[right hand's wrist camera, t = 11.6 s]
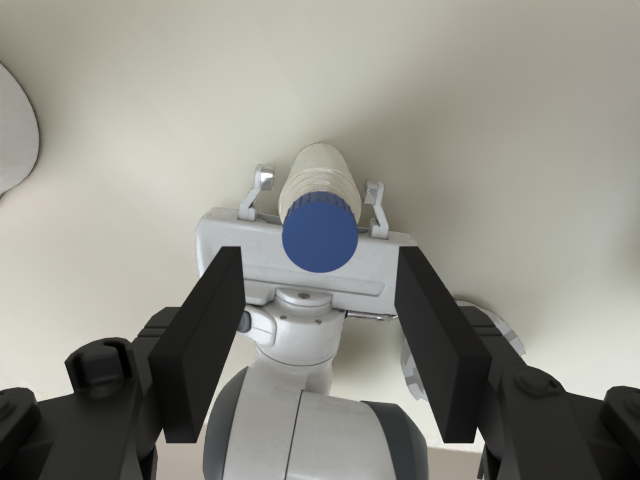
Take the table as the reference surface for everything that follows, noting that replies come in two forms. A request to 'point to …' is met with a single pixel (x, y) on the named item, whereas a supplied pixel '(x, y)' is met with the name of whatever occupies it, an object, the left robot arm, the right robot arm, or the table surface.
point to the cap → (320, 232)
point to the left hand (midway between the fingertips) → (320, 174)
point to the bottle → (320, 178)
